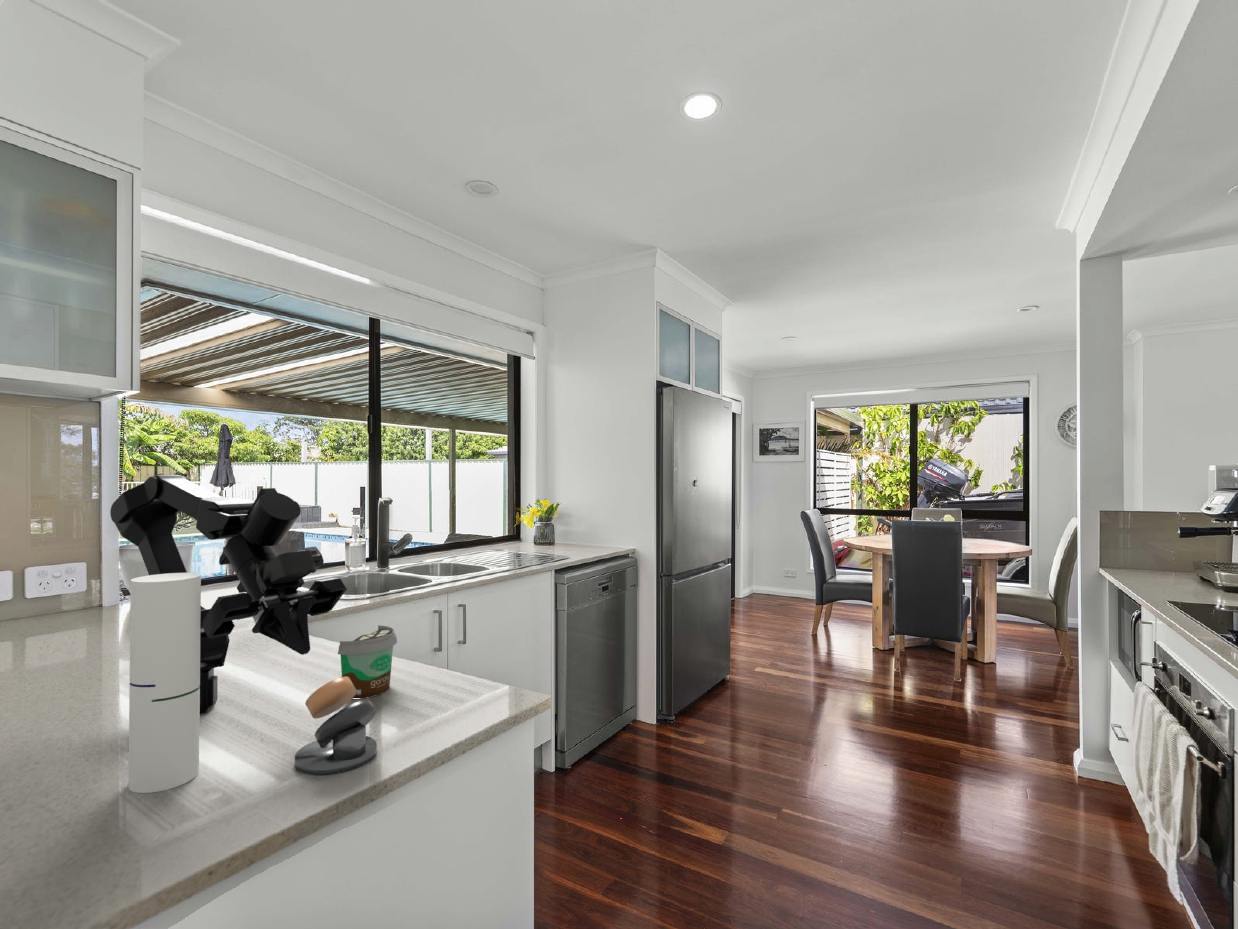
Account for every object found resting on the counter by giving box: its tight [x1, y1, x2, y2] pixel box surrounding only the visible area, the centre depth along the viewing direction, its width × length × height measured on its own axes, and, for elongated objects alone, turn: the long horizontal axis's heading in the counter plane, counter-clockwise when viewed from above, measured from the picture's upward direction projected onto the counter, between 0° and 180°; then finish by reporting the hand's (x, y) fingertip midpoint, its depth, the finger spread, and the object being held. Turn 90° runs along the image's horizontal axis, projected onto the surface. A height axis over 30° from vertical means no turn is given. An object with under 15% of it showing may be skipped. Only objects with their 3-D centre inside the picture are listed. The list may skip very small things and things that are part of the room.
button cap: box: [305, 676, 357, 720], centre depth 86 cm, size 6×6×6 cm
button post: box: [294, 699, 378, 776], centre depth 85 cm, size 10×10×8 cm
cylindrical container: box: [127, 572, 202, 794], centre depth 79 cm, size 7×7×25 cm
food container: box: [337, 624, 398, 699], centre depth 111 cm, size 12×6×10 cm, turn 168°
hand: (306, 652), depth 88 cm, fingers closed
